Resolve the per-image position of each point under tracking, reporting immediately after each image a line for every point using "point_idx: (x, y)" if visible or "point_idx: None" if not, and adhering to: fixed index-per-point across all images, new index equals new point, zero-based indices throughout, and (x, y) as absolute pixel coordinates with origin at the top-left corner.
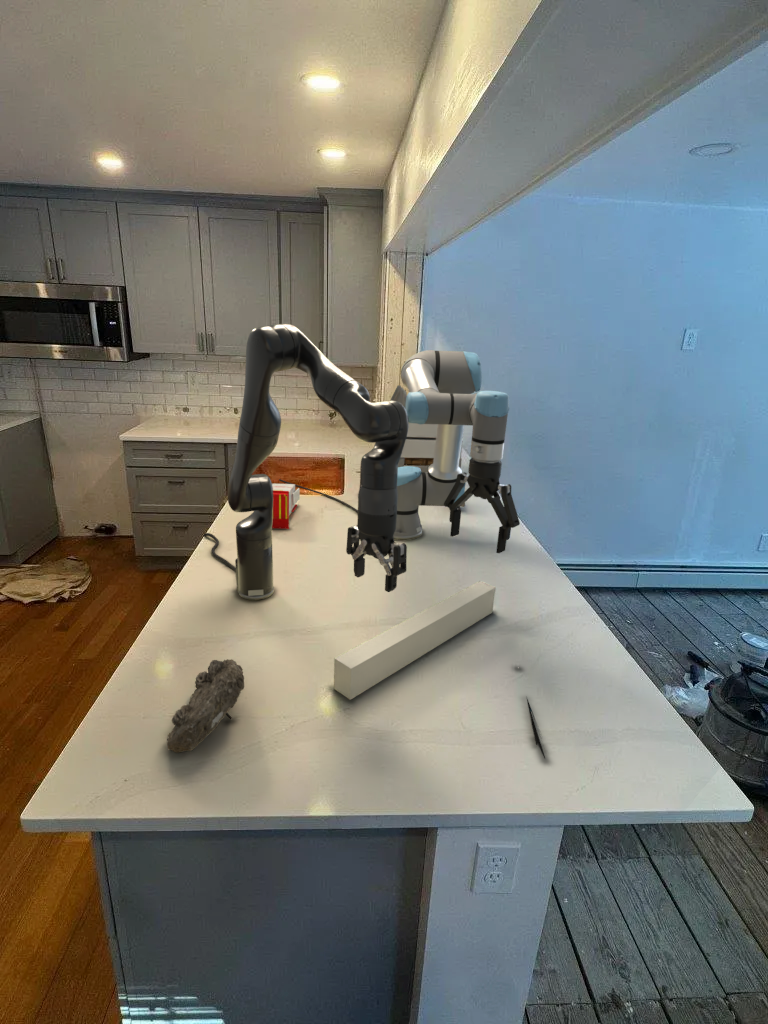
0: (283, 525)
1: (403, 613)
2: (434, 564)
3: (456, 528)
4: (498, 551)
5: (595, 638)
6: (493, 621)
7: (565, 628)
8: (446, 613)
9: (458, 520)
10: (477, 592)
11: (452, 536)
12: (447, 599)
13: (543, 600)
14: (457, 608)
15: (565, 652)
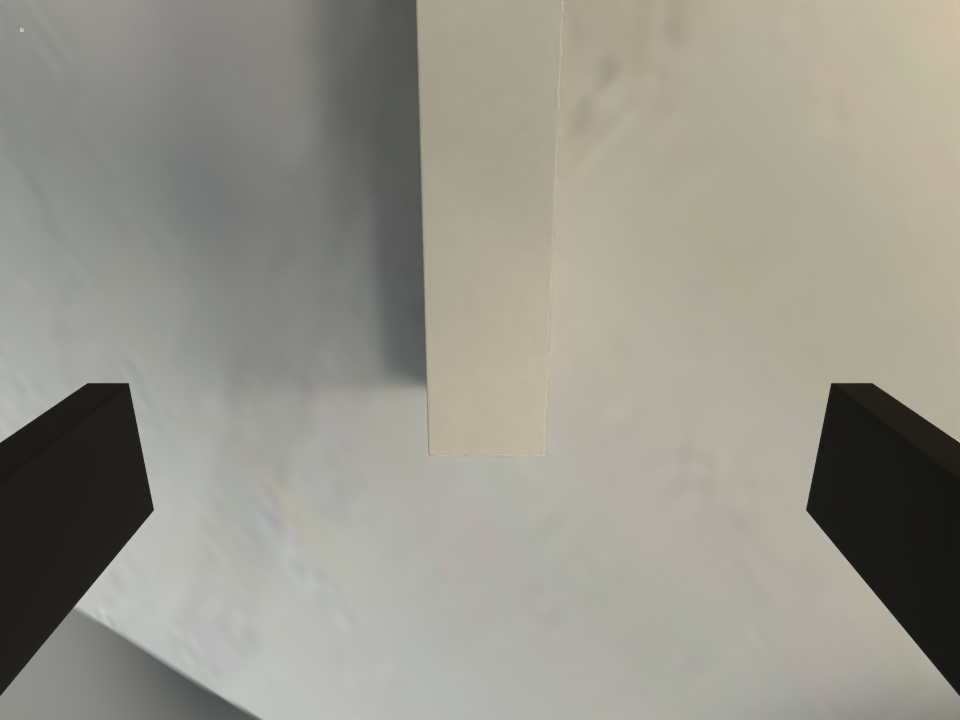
0: None
1: (787, 13)
2: None
3: (875, 505)
4: (83, 394)
5: None
6: (385, 322)
7: None
8: None
9: (950, 621)
10: (463, 320)
11: (837, 385)
12: (544, 81)
13: (348, 633)
14: (418, 25)
15: (7, 334)
